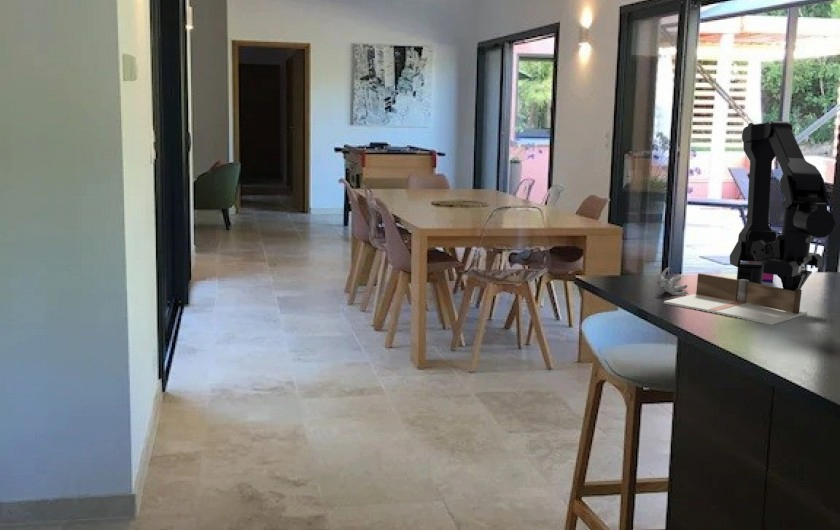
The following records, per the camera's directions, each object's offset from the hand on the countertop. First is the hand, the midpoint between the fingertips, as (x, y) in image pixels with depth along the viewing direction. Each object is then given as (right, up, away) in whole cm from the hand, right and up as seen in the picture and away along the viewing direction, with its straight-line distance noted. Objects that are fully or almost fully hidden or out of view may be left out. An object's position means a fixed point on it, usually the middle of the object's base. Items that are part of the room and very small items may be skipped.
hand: (788, 303), depth 186 cm
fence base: (-11, +1, +10) cm, 15 cm away
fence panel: (-3, -1, 0) cm, 4 cm away
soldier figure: (-20, +1, +17) cm, 27 cm away
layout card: (-11, -1, +2) cm, 11 cm away
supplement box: (+9, +4, +39) cm, 40 cm away
